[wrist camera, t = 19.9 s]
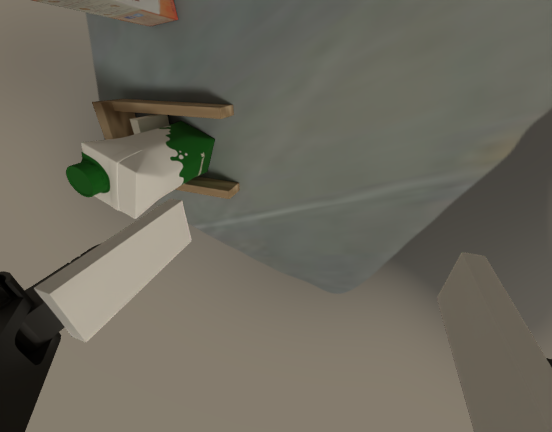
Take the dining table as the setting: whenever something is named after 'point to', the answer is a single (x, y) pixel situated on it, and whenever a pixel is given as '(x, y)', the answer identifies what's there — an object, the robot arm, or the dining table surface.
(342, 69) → the dining table surface
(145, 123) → the block
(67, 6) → the cracker box
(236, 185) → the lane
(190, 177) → the soya milk
